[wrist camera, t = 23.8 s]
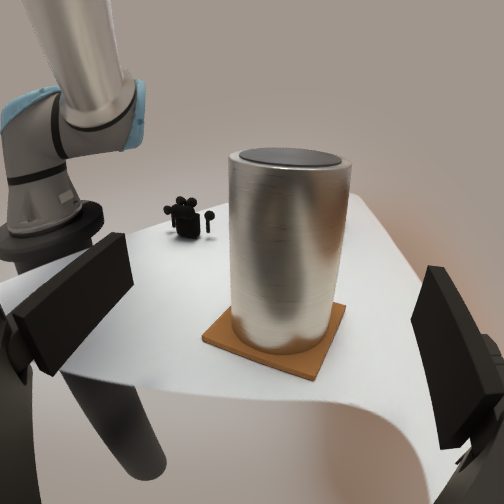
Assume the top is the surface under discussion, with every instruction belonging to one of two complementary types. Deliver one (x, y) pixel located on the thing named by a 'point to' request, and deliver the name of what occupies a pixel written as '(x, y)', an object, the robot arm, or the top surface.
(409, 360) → the top surface
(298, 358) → the mat
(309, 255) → the cup
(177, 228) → the wireless earbuds
